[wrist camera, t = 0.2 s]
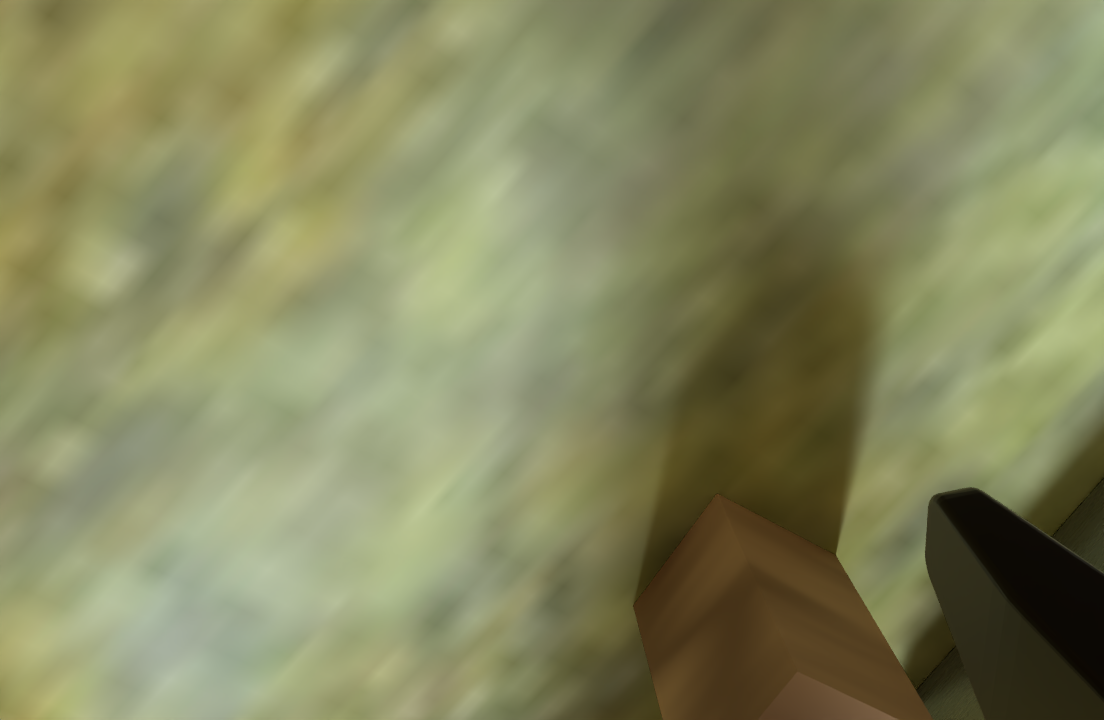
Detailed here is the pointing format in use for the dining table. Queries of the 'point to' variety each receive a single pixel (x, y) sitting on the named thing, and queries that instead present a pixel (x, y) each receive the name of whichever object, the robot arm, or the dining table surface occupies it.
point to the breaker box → (1090, 532)
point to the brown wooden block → (765, 630)
